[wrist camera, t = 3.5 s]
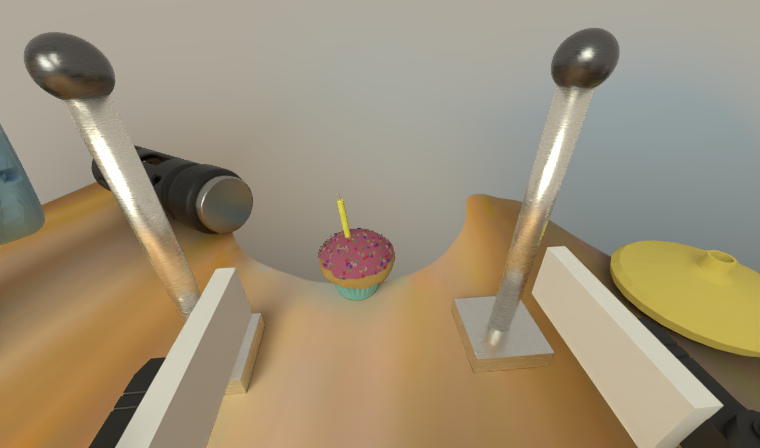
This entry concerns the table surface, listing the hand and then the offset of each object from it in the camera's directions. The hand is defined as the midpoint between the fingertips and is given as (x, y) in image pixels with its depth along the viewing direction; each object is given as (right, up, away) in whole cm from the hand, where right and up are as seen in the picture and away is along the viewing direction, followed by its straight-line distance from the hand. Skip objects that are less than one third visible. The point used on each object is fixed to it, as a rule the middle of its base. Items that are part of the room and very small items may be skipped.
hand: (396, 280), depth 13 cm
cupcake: (-3, -5, +24) cm, 24 cm away
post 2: (+11, -9, +17) cm, 22 cm away
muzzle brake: (-34, +4, +38) cm, 51 cm away
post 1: (-16, -10, +15) cm, 24 cm away
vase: (+33, -7, +21) cm, 40 cm away
